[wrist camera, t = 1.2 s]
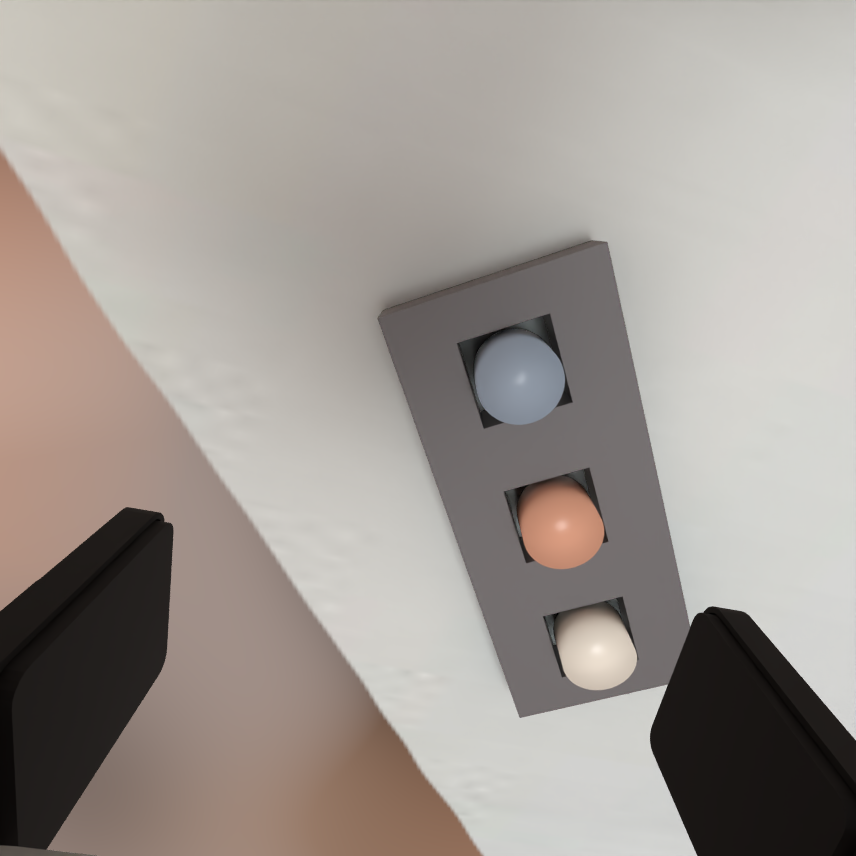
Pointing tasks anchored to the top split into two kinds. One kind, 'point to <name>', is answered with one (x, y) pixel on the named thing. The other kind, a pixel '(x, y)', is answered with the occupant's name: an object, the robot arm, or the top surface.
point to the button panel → (546, 467)
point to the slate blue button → (518, 377)
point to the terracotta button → (559, 523)
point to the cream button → (594, 646)
